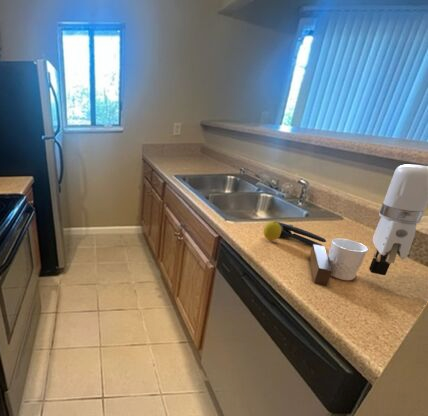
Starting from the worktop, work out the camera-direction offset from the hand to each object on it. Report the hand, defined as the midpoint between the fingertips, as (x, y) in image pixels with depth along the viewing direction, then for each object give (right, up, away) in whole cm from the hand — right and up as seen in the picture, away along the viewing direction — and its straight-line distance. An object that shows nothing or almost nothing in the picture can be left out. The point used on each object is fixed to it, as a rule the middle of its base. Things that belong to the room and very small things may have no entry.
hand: (376, 272), depth 78 cm
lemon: (-15, +6, +25) cm, 30 cm away
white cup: (-7, -2, +5) cm, 8 cm away
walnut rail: (-12, -1, +7) cm, 13 cm away
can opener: (-6, +6, +25) cm, 26 cm away
